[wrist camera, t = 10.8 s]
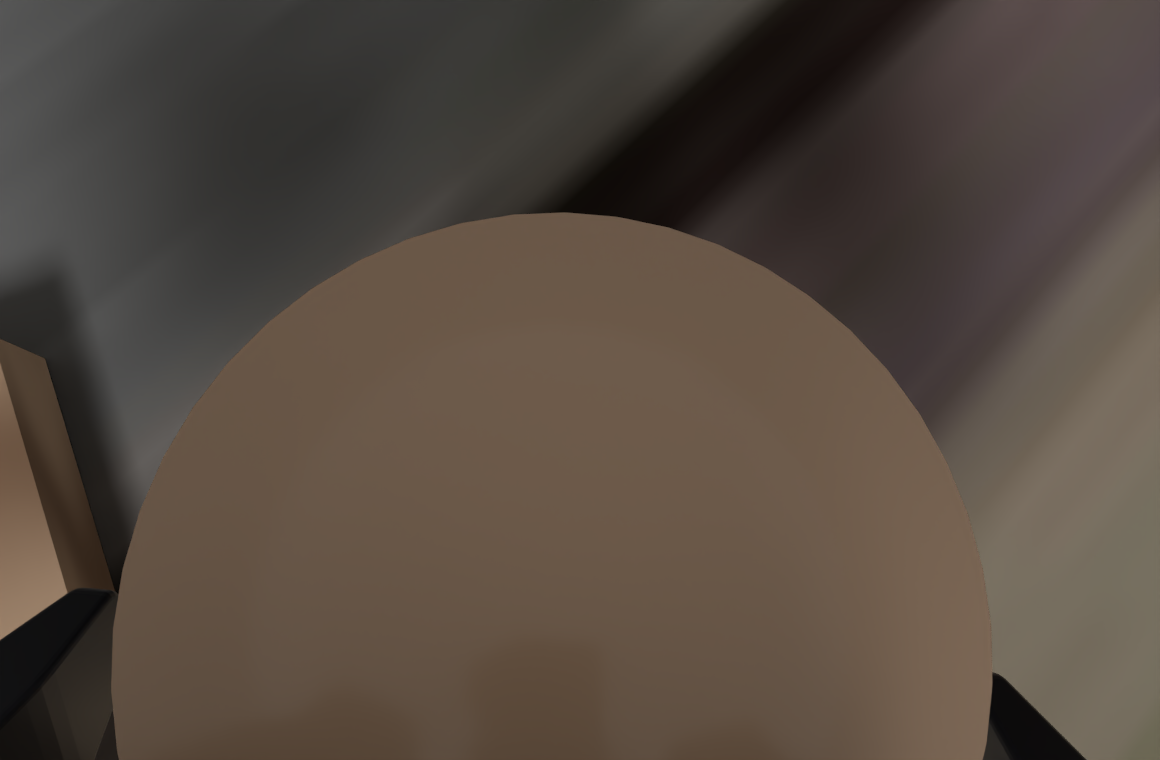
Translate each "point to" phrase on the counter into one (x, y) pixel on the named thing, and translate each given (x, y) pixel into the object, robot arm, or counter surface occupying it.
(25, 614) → the tile
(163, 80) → the counter surface
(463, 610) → the jar
